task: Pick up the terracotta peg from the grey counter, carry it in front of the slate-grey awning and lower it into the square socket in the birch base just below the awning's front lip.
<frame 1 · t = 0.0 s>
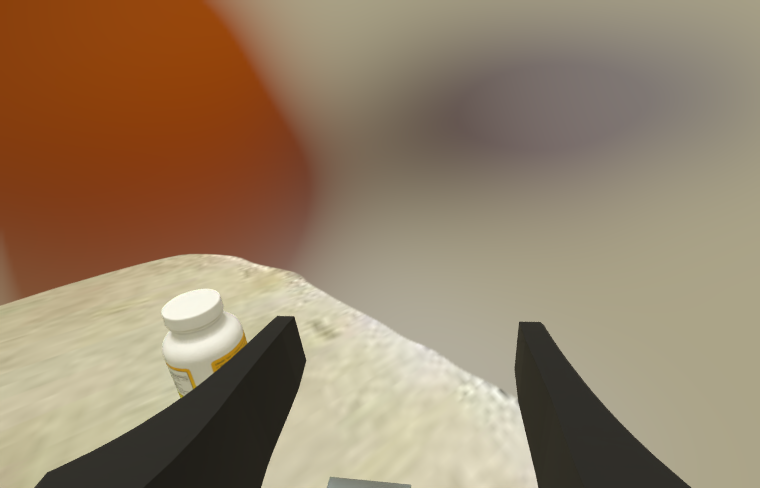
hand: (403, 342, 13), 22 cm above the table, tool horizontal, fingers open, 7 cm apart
supplement bottle: (230, 414, 39), on the table
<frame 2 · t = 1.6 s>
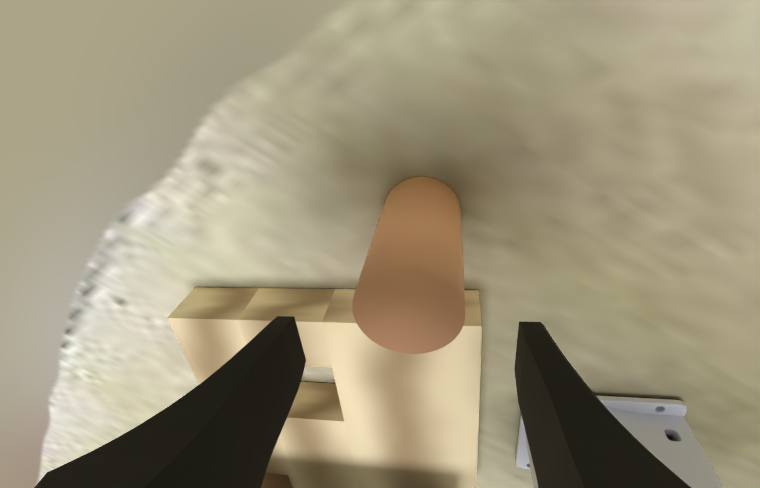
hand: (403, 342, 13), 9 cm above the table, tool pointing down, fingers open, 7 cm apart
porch: (348, 388, 29), on the table
peg: (421, 212, 21), on the table
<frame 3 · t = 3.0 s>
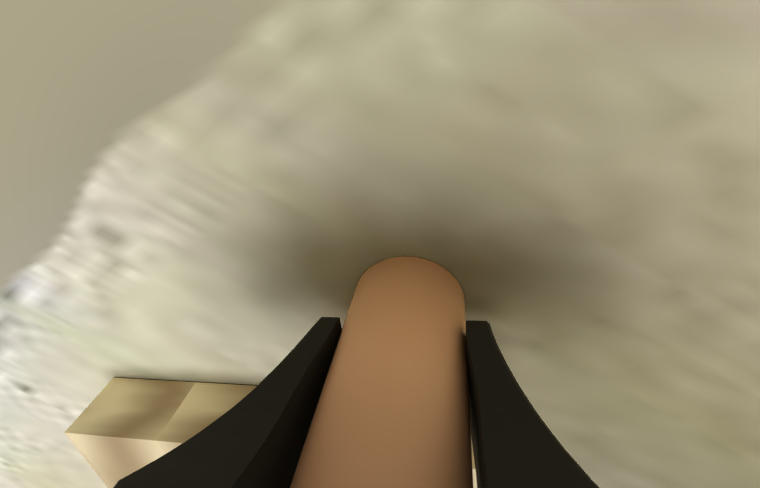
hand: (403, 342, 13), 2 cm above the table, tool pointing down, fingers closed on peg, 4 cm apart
peg: (408, 302, 15), on the table, touching gripper
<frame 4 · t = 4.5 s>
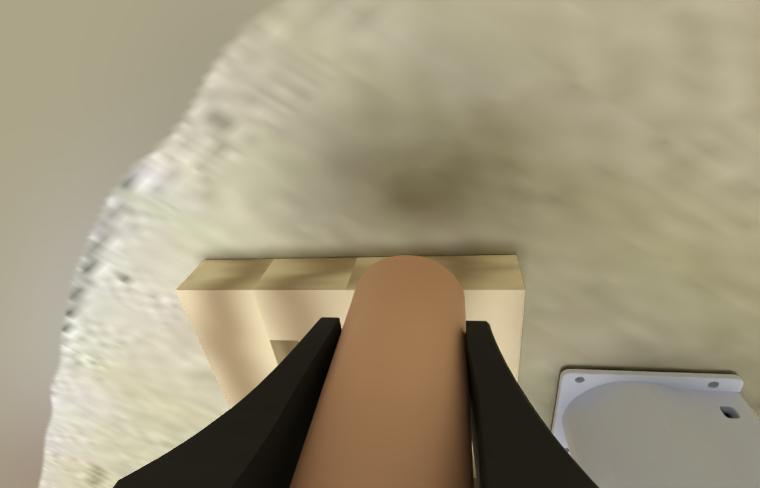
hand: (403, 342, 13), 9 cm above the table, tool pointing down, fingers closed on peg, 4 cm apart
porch: (369, 369, 27), on the table
peg: (409, 301, 15), point 7 cm above the table, touching gripper
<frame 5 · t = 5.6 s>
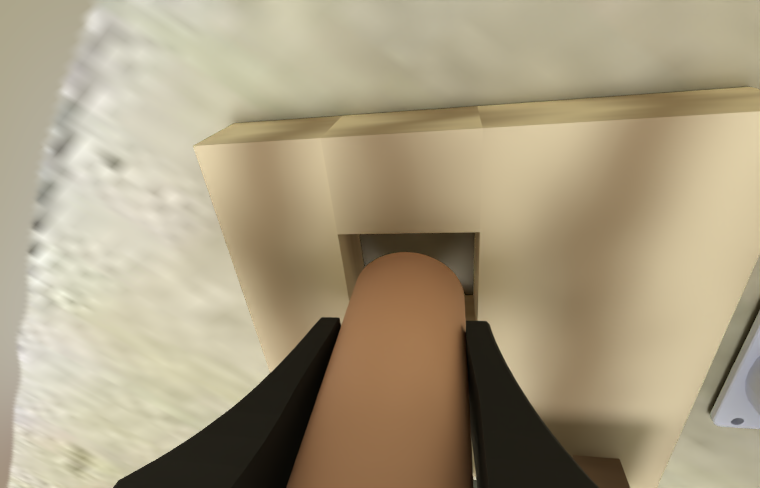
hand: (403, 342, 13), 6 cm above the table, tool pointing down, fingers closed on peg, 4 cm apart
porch: (462, 303, 19), on the table
peg: (408, 298, 15), point 4 cm above the table, touching gripper
when the fingers open (4 cm above the table, at t = 6.4 s): peg drops 2 cm, resting in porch.
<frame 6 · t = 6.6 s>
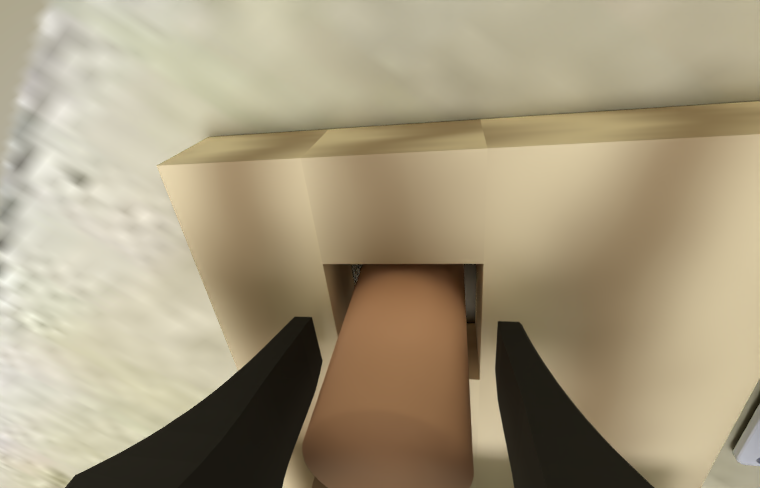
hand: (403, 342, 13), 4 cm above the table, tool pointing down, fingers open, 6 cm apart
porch: (463, 331, 17), on the table
peg: (412, 270, 16), resting in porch
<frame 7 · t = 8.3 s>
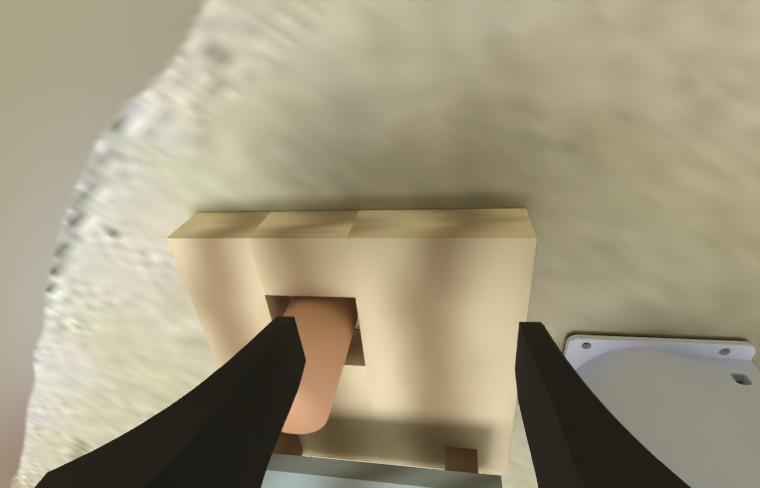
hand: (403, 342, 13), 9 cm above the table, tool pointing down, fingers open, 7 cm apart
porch: (367, 335, 26), on the table
peg: (330, 295, 25), resting in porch
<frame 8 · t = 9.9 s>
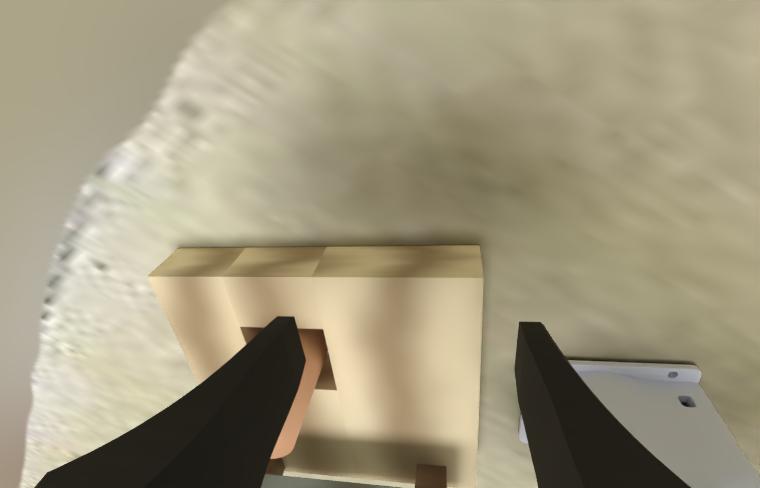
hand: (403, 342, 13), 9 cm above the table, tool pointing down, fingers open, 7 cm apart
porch: (341, 359, 27), on the table
peg: (305, 323, 26), resting in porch
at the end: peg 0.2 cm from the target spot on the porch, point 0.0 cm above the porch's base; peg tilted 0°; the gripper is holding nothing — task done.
